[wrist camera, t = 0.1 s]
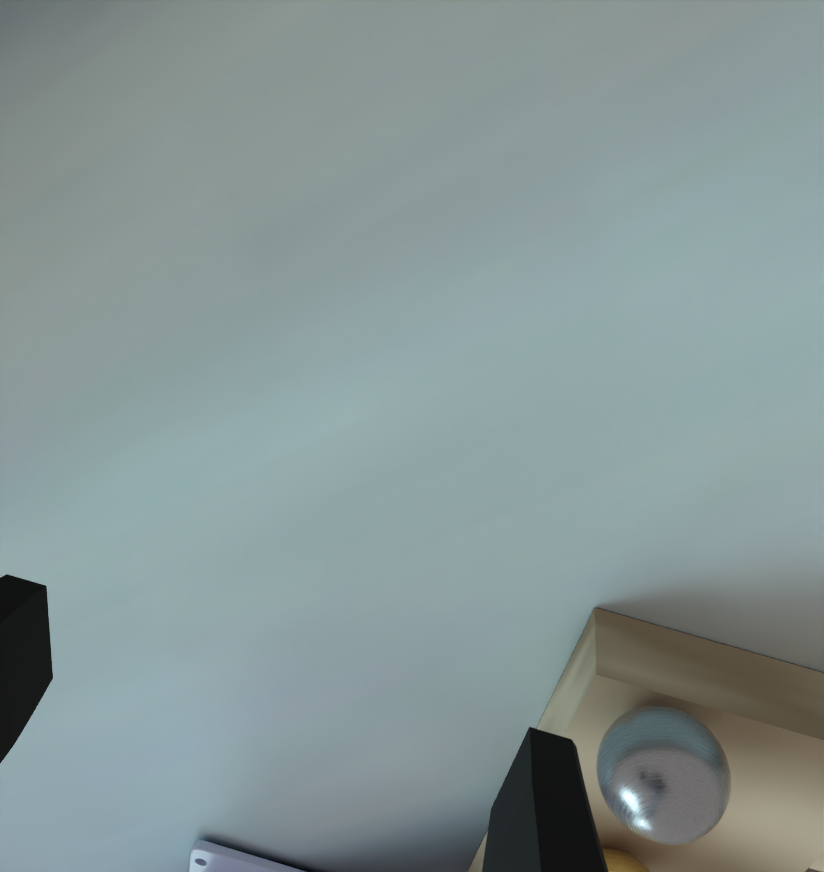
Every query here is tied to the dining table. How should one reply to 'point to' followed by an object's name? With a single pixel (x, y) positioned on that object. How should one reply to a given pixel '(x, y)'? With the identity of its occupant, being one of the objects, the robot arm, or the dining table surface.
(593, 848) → the robot arm
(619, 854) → the ball
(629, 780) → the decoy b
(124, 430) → the dining table surface
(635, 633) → the plate
